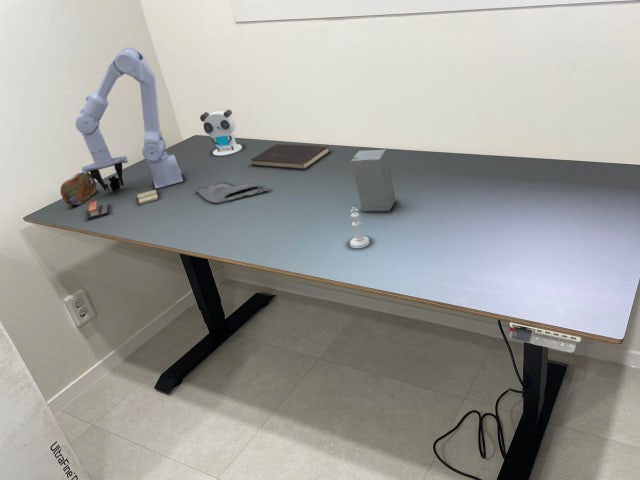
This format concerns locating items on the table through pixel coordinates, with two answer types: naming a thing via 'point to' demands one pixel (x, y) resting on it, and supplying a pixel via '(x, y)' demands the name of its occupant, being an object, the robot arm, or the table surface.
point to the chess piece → (358, 233)
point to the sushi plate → (97, 210)
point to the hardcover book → (290, 156)
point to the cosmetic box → (373, 180)
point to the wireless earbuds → (114, 184)
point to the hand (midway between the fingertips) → (114, 187)
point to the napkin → (147, 196)
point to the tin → (78, 188)
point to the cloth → (228, 192)
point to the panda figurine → (221, 132)
